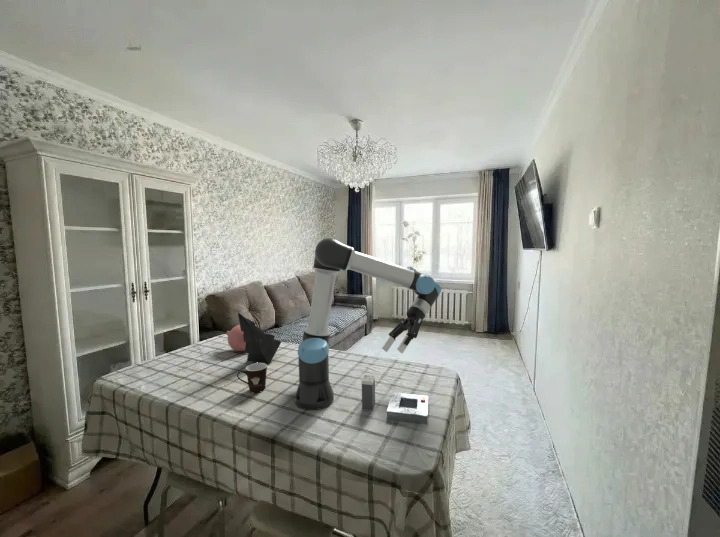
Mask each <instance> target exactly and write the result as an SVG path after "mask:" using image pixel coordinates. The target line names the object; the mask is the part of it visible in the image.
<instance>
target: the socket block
mask: <svg viewBox="0 0 720 537" xmlns="http://www.w3.org/2000/svg"><path fill="white" fill-rule="evenodd" d="M428 419H429V395H421V394H412V393H402V392H396V391H395V392H394V391H391V395H390V399H389V402H388V406H387V409H386V420H391V421H397V422H405V423H413V424H421V425H428V422H429V421H428Z"/></svg>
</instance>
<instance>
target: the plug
mask: <svg viewBox="0 0 720 537" xmlns="http://www.w3.org/2000/svg"><path fill="white" fill-rule="evenodd" d="M375 405H376V376H375V375H366V374H364V376H363V377H362V379H361V410H366V411H374V408H375Z"/></svg>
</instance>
